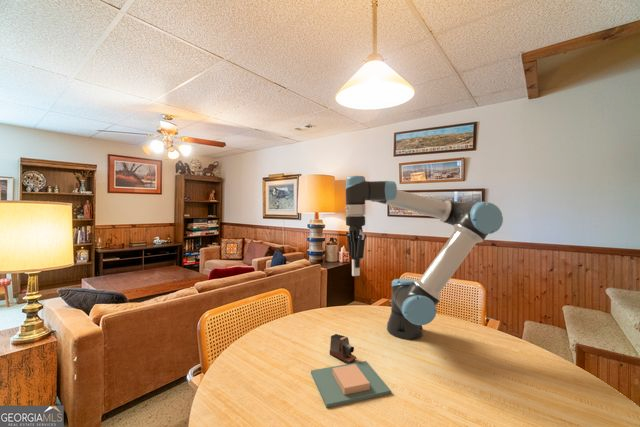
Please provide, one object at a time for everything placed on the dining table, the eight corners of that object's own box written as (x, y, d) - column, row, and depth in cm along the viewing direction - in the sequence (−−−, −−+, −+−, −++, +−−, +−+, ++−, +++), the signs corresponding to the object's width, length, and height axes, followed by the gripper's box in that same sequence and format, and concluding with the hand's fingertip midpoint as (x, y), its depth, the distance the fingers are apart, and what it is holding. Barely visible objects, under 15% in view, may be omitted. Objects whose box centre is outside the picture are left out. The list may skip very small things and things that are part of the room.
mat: (366, 363, 95) (366, 360, 95) (390, 393, 80) (391, 390, 80) (310, 373, 89) (310, 370, 89) (326, 407, 74) (326, 404, 74)
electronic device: (349, 365, 94) (349, 343, 94) (328, 354, 101) (328, 334, 101) (356, 360, 97) (357, 339, 97) (336, 350, 104) (336, 331, 104)
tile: (355, 364, 89) (369, 383, 80) (355, 370, 89) (369, 390, 80) (332, 368, 87) (344, 388, 77) (332, 374, 87) (344, 395, 77)
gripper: (340, 215, 112) (340, 272, 112) (354, 216, 99) (354, 280, 100) (356, 215, 114) (356, 271, 115) (372, 215, 102) (372, 278, 102)
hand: (355, 275), depth 107 cm, fingers closed
